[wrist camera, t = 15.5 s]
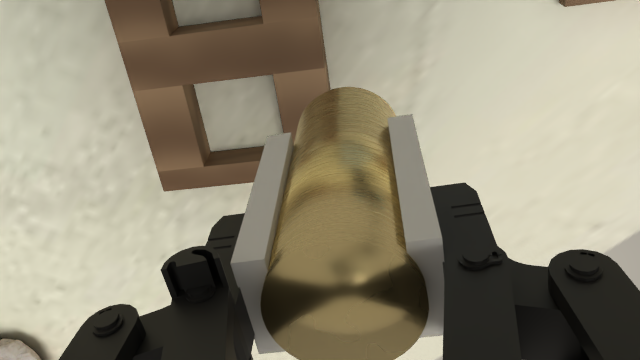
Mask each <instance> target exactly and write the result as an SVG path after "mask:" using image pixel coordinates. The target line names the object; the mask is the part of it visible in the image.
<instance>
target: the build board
mask: <svg viewBox="0 0 640 360" xmlns="http://www.w3.org/2000/svg"><path fill="white" fill-rule="evenodd" d="M259 2H260V7H261V13H262V16H257V17H250V18H242V19H235V20H227V21H220V22H212V23H205V24H197V25H190V26H182V27H178V23H177V19H176V15H175V11H174V7H173V3H172V0H105V3H106V6H107V9H108V13H109V16H110V19H111V22H112V26H113V29H114V32H115V35H116V38H117V42H118V45H119V48H120V51H121V55H122V58H123V61H124V64H125V68H126V71H127V74H128V77H129V80H130V84H131V87H132V90H133V93H134V97H135V100H136V103H137V106H138V110H139V113H140V116H141V119H142V122H143V126H144V129H145V132H146V135H147V139H148V142H149V145H150V148H151V152H152V155H153V158H154V161H155V164H156V168H157V171H158V174H159V177H160V181H161V184H162V187H163V190H164V191H173V190H183V189H192V188H202V187H212V186H221V185H231V184H241V183H250V182H254V180H255V177H256V174H257V170H258V167H259V163H260V160H261V156H262V153H263V150H264V146H263V147H253V148H244V149H235V150H226V151H217V152H210V148H209V144H208V140H207V136H206V132H205V128H204V124H203V121H202V117H201V113H200V109H199V105H198V101H197V97H196V93H195V89H194V85H193V84H198V83H206V82H214V81H222V80H231V79H239V78H247V77H255V76H263V75H271V74H273V78H274V83H275V88H276V94H277V99H278V105H279V110H280V116H281V121H282V126H283V132H284V133H291V135H292V140H293V144H294V142H295V137H296V132H297V128H298V124H299V120H300V118H301V115H302V113H303V112H304V110H305V108H306V107H307V106H308V105H309V104H310V103H311V102H312V101H313V100H314V99H315V98H316V97H318V96H319V95H321V94H323V93H325V92H327V91H330V83H329V76H328V69H327V61H326V54H325V47H324V39H323V32H322V25H321V18H320V10H319V3H318V0H259Z"/></svg>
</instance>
